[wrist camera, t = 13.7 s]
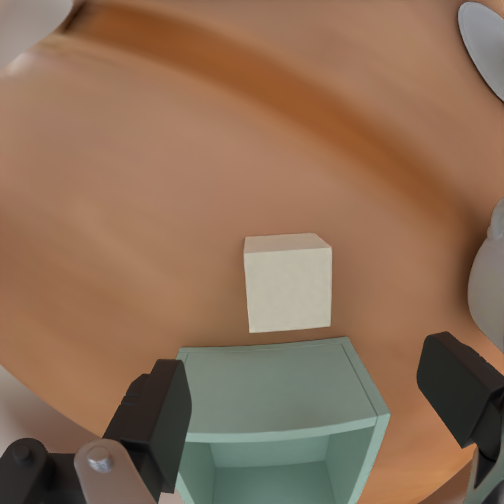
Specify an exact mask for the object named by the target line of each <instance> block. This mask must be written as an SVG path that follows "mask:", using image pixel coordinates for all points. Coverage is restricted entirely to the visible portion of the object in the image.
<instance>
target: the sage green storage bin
mask: <svg viewBox="0 0 504 504" xmlns="http://www.w3.org/2000/svg"><path fill="white" fill-rule="evenodd" d="M175 360H182V361H183V363H184V367H185V371H186V376H187V381H188V385H189V389H190V394H191V399H192V414H191V419H190V423H189V427H188V431H187V436H186V440H185V444H184V449H183V453H182V458H181V462H180V466H179V471H178V475H177V480H176V485H175V487H176V489H177V491H178V492H179V494H180V496H181V498H182V500H183V501H184V503H185V504H356V503H357V501H358V499H359V497H360V494H361V492H362V490H363V488H364V485H365V483H366V481H367V479H368V476H369V474H370V471H371V469H372V466H373V464H374V461H375V459H376V456H377V453H378V451H379V448H380V445H381V442H382V439H383V437H384V434H385V431H386V427H387V424H388V421H389V418H390V415H391V412H390V411H389V409H388V407H387V405H386V403H385V402H384V400H383V398H382V396H381V394H380V393H379V391H378V389H377V387H376V385H375V384H374V382H373V380H372V378H371V377H370V375H369V373H368V371H367V369H366V368H365V366H364V364H363V363H362V361H361V359H360V357H359V356H358V354H357V352H356V350H355V349H354V347H353V345H352V344H351V342H350V340H349V338H348V337H347V336H346V337H339V338H331V339H322V340H313V341H303V342H292V343H280V344H266V345H250V346H229V347H181V348H180V350H179V352H178V354H177V357H176V359H175Z"/></svg>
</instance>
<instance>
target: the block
mask: <svg viewBox="0 0 504 504" xmlns="http://www.w3.org/2000/svg"><path fill="white" fill-rule="evenodd" d="M243 255H244V268H245V281H246V294H247V307H248V320H249V332H250V333H259V332H273V331H286V330H298V329H309V328H319V327H328V326H330V323H331V295H332V247H331V246H329V245H328V244H327V243H326V242H325V241H323V240H322V239H321V238H320V237H318V236H317V235H316V234H315V233H299V234H283V235H267V236H251V237H245V243H244V253H243Z"/></svg>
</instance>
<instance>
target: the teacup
mask: <svg viewBox="0 0 504 504" xmlns="http://www.w3.org/2000/svg"><path fill="white" fill-rule="evenodd" d="M487 236H488V237H487V238H486V239H485V240H484V242H483V244H482V245H481V247H480V249H479V251H478V252H477V255H476V257H475V259H474V262H473V265H472V268H471V272H470V276H469V282H468V305H469V310H470V313H471V316H472V318H473V320H474V322H475V324H476V325H477V326H478V328H479V329H480V330H481V331H482V333H483V334H484V335H485V336H486V337H487V338H488V339H489V340H490V341H491V342H492V343H493V344H494V345H495V346H496V347H497V348H498V349H499V350H500V351H501V352H502V353H503V354H504V197H503V198H501V199H500V201H499V202H498V203H497V204H496V206H495V207H494V209H493V212H492V217H491V225H490V226H489V227H488V229H487Z"/></svg>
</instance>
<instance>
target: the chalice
mask: <svg viewBox="0 0 504 504" xmlns="http://www.w3.org/2000/svg"><path fill="white" fill-rule="evenodd" d="M458 22H459V27H460V32H461V34H462V37H463V40H464V43H465V45H466V47H467V50H468V52H469V54H470V56H471V58H472V60H473V61H474V63H475V65H476V67H477V68H478V70H479V72H480V73H481V75H482V76H483V78H484V79H485V81H486V82H487V84H488V85H489V86H490V87H491V88H492V90H493V91H494V92H495V93H496V95H497V96H498V97H499V98H501V99H502V100H503V101H504V20H503V19H502V18H501V17H500V16H499V15H498V14H497V13H495V12H494V11H493V10H491V9H490V8H488V7H486V6H484V5H482V4H480V3H476V2H472V1H471V2H465V3H464V4H463V5H461V7H460V9H459V11H458Z"/></svg>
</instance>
